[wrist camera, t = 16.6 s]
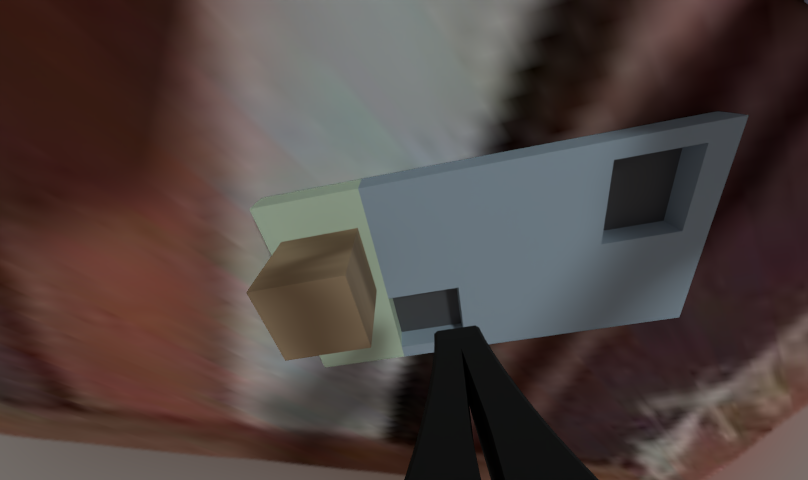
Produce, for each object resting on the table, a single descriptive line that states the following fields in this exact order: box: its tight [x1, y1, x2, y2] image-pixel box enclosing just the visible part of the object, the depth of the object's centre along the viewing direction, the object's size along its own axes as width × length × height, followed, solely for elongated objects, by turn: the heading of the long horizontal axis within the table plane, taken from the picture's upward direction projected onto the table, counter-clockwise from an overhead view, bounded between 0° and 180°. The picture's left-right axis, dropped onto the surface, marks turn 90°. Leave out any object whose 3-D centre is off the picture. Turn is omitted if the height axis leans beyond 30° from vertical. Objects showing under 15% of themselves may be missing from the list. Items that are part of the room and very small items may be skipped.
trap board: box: [250, 111, 749, 368], centre depth 19 cm, size 25×13×2 cm, turn 101°
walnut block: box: [246, 228, 377, 361], centre depth 16 cm, size 4×4×4 cm
